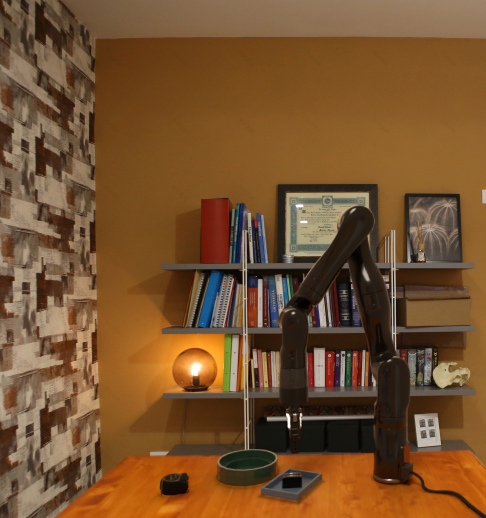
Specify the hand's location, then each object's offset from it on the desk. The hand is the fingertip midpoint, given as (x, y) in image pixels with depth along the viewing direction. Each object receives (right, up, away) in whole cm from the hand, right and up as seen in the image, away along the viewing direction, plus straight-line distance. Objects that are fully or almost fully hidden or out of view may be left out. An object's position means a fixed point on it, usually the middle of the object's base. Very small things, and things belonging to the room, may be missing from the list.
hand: (294, 447), depth 127 cm
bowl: (-14, -11, +8) cm, 19 cm away
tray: (0, -10, -1) cm, 10 cm away
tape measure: (-29, -10, -3) cm, 31 cm away
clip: (-1, -10, -1) cm, 10 cm away
